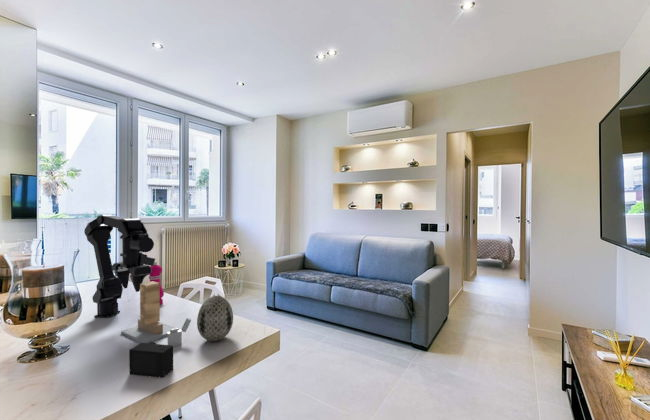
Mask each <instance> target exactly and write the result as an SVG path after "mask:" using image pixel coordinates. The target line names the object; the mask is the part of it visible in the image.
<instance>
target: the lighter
mask: <svg viewBox="0 0 650 420" xmlns="http://www.w3.org/2000/svg"><path fill="white" fill-rule="evenodd" d="M191 322H192V319H191V318H189V317H186V319H185V321H184V323H183V325H182V327H181V328H180V329H179V328H178V327H175V328H174V329H171V330H170V332H167V336H166V337H167V345H173V347H174V346H179V345H182V343H183V342H182V336H183V335H182V332H184V333H186V332H187V330H188V328H189V326H190V324H191ZM178 329H179V330H178Z"/></svg>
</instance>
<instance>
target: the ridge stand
mask: <svg viewBox="0 0 650 420" xmlns="http://www.w3.org/2000/svg"><path fill="white" fill-rule="evenodd" d="M174 328H176V327H175V326H171V325H170V324H167V323H164V322H161V321H158V322H155V323H152V324H149V325H145V324H143V323H140V318H139V319H137V325H136V326H132V327H129V328H127V329H123V330H121V331H120V334H121V335H122V336H125V337H127V338H129V339H131V340H134V341H136V342H138V343H139V344H140V343H149V342H156V341H158V340H160V339H163V338H166V337H167V332H170V330H171V329H174ZM178 330H180V329H179V328H178Z"/></svg>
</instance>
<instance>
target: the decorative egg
mask: <svg viewBox="0 0 650 420" xmlns="http://www.w3.org/2000/svg"><path fill="white" fill-rule="evenodd" d="M233 324H234V313H233V308H232V306H231V304H230V303H229V301H228V299H226V298H224V297H223V296H222V295H221V296H220V295H214V296H210V297H209V298H207V299H206V300H205V301H204V302H203V303H202V305H201V306H200V308H199V310H198V314H197V319H196V326H197V330H198V331H197V332H198V333H199V334H200V336H201V337H202V338H203V339H204V340H206V341H208V342H217V341H220V340H223V339H224V338H225V337H226V336H228V334H230V332H231V329H232V328H233Z"/></svg>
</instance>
